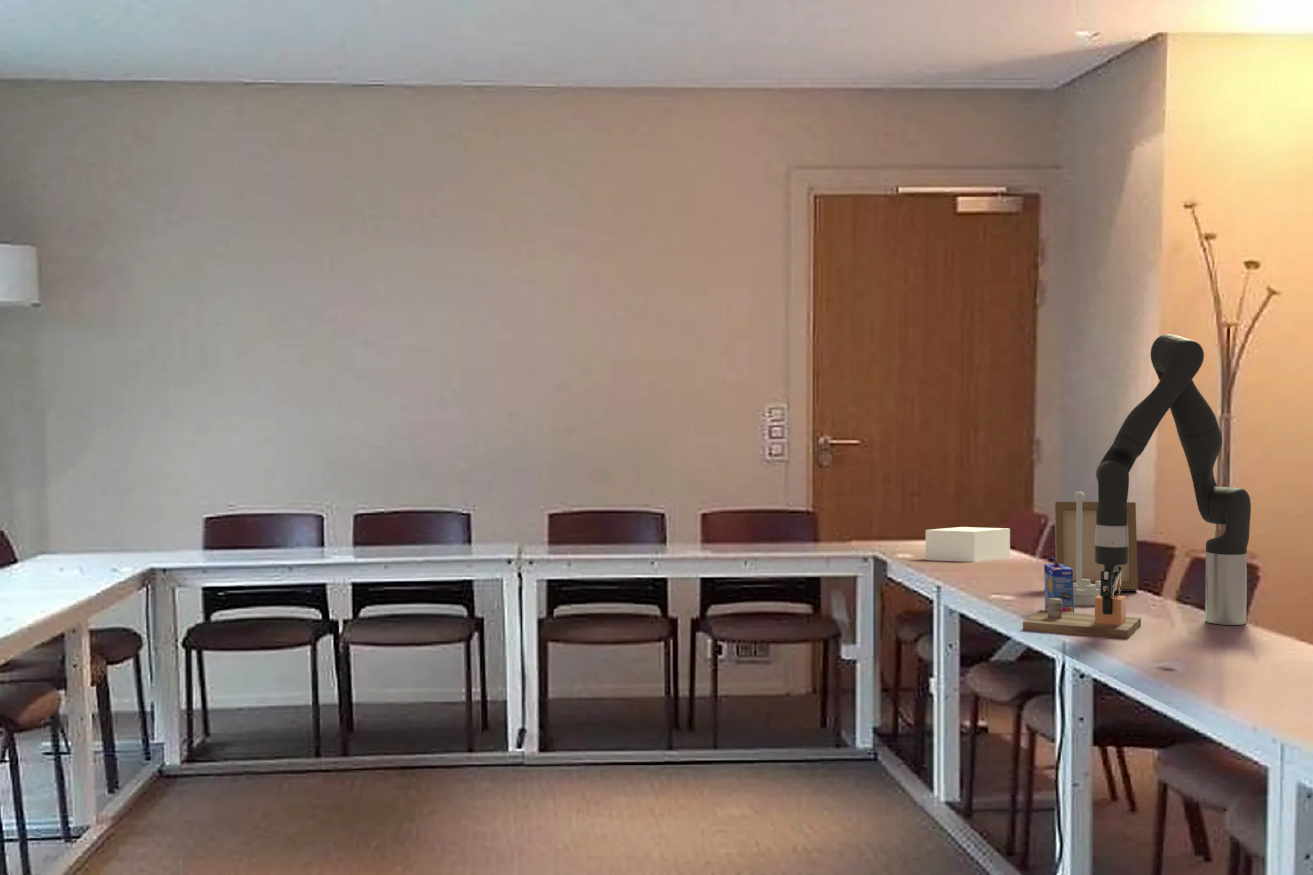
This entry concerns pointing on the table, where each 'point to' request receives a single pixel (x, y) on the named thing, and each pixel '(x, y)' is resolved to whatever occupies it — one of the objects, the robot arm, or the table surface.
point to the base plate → (1077, 623)
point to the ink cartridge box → (1059, 585)
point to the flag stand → (1082, 587)
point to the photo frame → (1092, 542)
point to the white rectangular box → (968, 544)
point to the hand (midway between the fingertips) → (1110, 611)
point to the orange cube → (1118, 611)
